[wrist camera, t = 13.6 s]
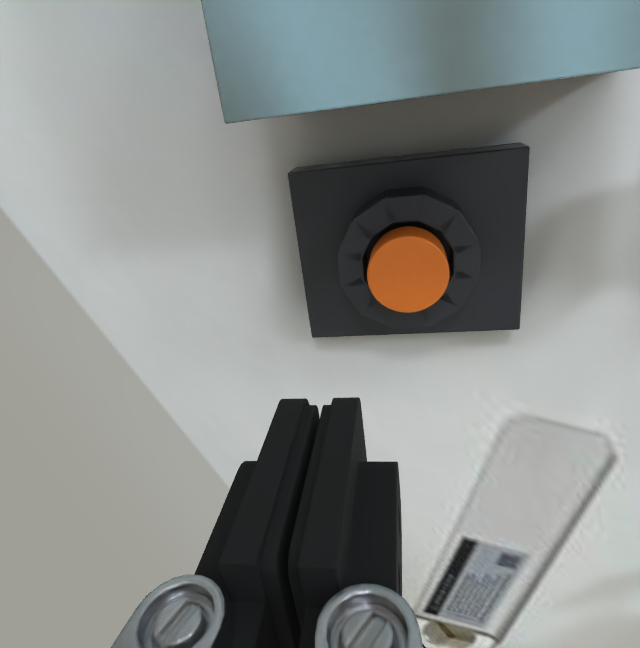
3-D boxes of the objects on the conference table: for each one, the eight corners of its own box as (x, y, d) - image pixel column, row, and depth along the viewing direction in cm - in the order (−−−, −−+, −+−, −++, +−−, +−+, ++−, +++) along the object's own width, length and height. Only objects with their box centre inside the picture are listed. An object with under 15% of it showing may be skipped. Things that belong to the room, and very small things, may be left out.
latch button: (372, 300, 24) (370, 315, 22) (366, 229, 22) (363, 239, 21) (447, 296, 23) (450, 311, 22) (446, 222, 22) (449, 233, 20)
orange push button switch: (316, 324, 29) (305, 353, 25) (294, 167, 25) (278, 179, 22) (513, 315, 26) (527, 346, 23) (521, 142, 23) (540, 151, 19)
